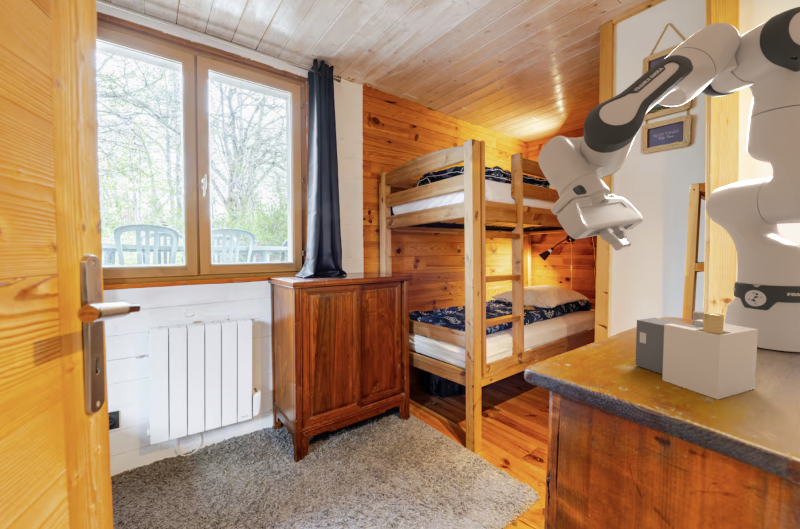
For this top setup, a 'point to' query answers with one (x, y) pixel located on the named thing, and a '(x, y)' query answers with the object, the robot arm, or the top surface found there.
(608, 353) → the top surface
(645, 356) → the cartridge
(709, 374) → the housing
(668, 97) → the robot arm
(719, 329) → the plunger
